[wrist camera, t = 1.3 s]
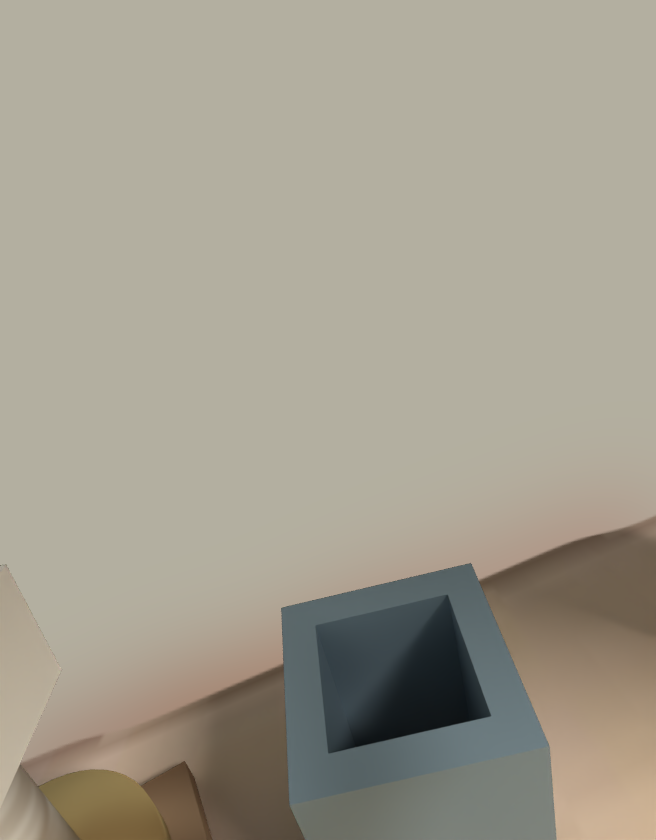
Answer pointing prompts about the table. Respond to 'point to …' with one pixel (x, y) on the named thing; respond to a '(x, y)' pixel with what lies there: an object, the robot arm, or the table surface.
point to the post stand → (104, 807)
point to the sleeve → (411, 718)
